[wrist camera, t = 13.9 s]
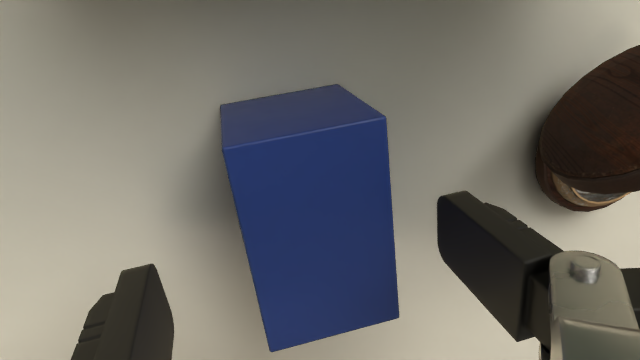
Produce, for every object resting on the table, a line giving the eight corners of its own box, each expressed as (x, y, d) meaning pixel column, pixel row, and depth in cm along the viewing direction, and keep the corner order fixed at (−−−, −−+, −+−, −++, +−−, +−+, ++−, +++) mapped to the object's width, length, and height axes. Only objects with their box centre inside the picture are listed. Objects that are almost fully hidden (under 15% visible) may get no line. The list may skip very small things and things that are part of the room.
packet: (256, 265, 18) (270, 353, 13) (219, 104, 15) (221, 148, 11) (355, 242, 19) (400, 318, 14) (338, 83, 16) (387, 116, 11)
